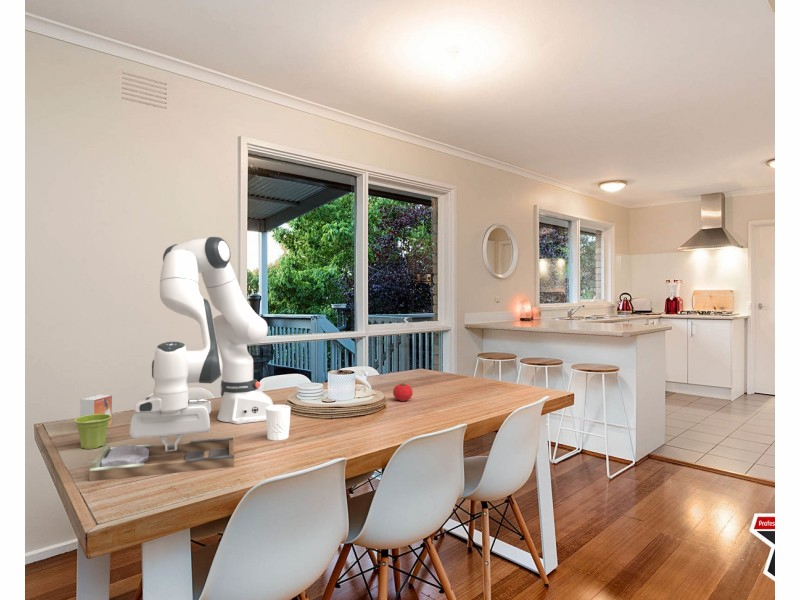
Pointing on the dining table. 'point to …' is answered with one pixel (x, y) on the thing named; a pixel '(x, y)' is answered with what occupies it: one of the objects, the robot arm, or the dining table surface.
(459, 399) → the dining table surface
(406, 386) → the tomato
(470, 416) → the dining table surface
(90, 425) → the plant pot
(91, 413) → the small box
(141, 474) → the box
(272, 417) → the white cup
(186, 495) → the dining table surface
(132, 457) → the stone block
